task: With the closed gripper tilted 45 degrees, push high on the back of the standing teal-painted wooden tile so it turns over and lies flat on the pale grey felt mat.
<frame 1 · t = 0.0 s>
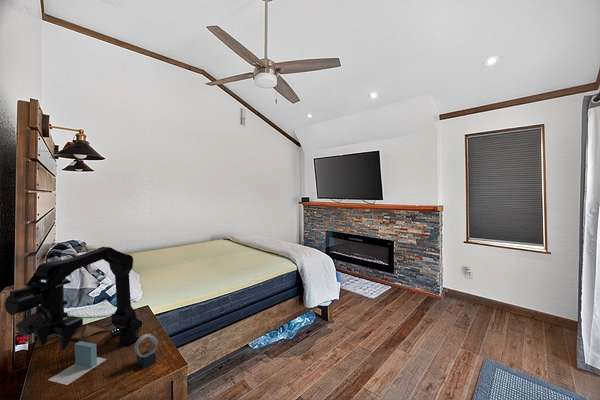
hand: (53, 346, 87), 15 cm above the nightstand, tool pointing down, fingers open, 9 cm apart
teal tile: (86, 364, 99), resting on felt mat
watch: (146, 363, 101), on the nightstand
felt mat: (79, 369, 97), on the nightstand
sunglasses case: (91, 339, 117), on the nightstand
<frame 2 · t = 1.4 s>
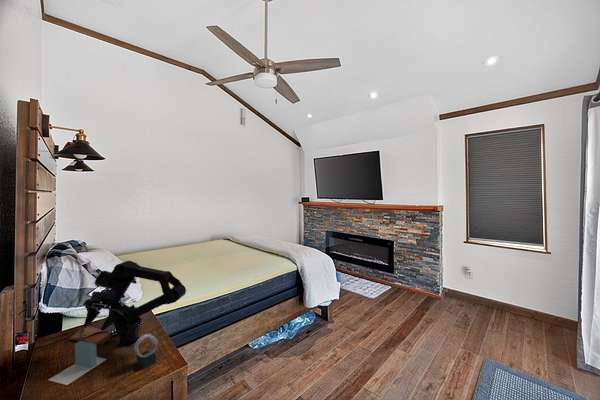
hand: (93, 328, 102), 13 cm above the nightstand, tool tilted 45°, fingers open, 8 cm apart
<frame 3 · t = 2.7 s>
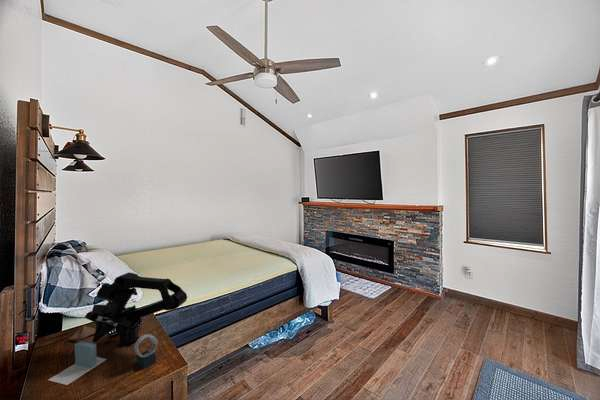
hand: (94, 342, 102), 7 cm above the nightstand, tool tilted 45°, fingers closed
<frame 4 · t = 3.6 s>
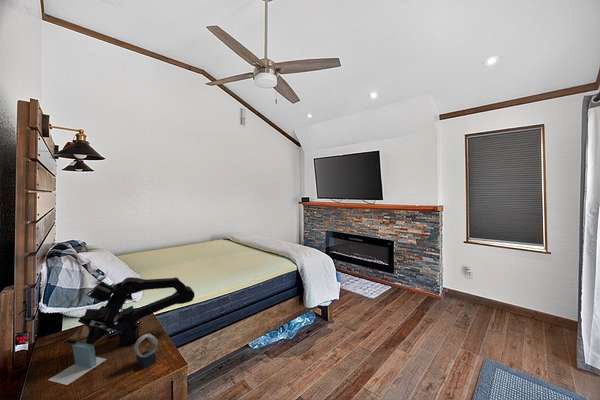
hand: (86, 347, 100), 7 cm above the nightstand, tool tilted 45°, fingers closed
teal tile: (85, 364, 99), resting on felt mat, tilted 6°, touching gripper
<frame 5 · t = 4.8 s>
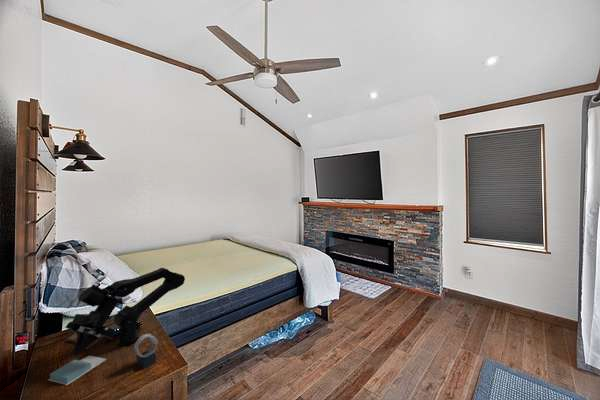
hand: (74, 354, 95), 7 cm above the nightstand, tool tilted 45°, fingers closed
teal tile: (82, 363, 98), point 1 cm above the nightstand, tilted 90°, touching felt mat
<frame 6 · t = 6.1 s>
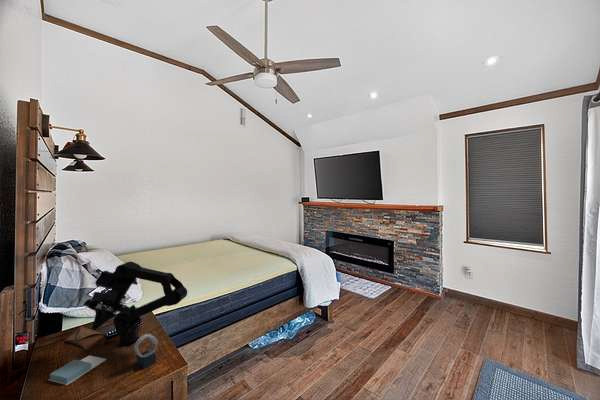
hand: (93, 329, 101), 12 cm above the nightstand, tool tilted 45°, fingers closed
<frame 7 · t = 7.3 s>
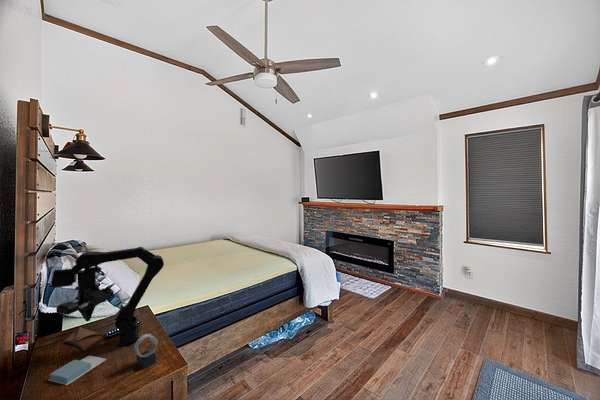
hand: (87, 320, 107), 13 cm above the nightstand, tool pointing down, fingers closed
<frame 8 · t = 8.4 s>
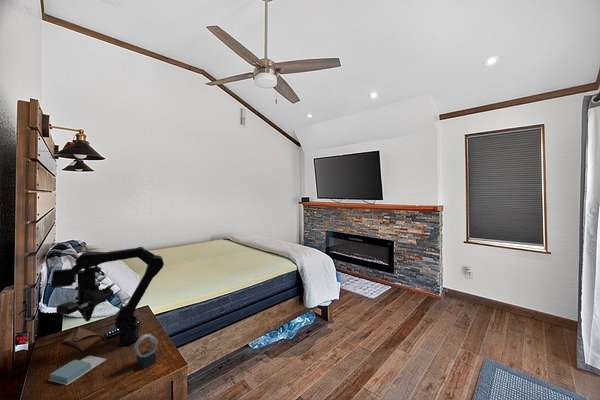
hand: (87, 320, 107), 13 cm above the nightstand, tool pointing down, fingers closed
at the end: teal tile tilted 90°; teal tile inside the target area (0.9 cm from its centre), point 1.3 cm above the nightstand; the gripper is holding nothing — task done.
